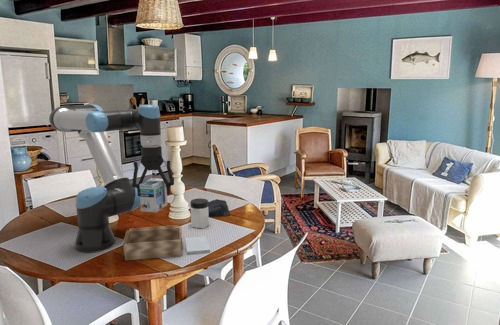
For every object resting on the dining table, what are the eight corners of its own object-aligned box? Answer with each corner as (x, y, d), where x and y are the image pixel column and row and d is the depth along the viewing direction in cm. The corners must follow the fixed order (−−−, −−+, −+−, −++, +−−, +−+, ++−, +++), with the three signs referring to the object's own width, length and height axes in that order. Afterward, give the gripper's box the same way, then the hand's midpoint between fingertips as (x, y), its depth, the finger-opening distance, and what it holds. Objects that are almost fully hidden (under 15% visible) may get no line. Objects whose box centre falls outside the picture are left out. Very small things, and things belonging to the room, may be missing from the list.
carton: (123, 261, 145) (122, 244, 144) (127, 244, 161) (126, 228, 159) (182, 255, 150) (182, 239, 148) (181, 240, 165) (180, 225, 164)
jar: (202, 220, 188) (201, 197, 186) (212, 225, 182) (212, 200, 180) (186, 225, 182) (186, 200, 180) (197, 230, 176) (196, 204, 174)
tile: (186, 254, 151) (186, 251, 151) (185, 240, 164) (185, 237, 164) (209, 252, 153) (209, 249, 152) (206, 238, 166) (206, 236, 166)
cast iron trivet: (230, 204, 215) (229, 196, 214) (229, 217, 194) (229, 208, 193) (202, 204, 215) (202, 196, 214) (199, 218, 193) (198, 209, 192)
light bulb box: (156, 212, 146) (155, 185, 144) (140, 211, 147) (138, 184, 145) (168, 204, 156) (167, 178, 154) (152, 203, 157) (151, 177, 155)
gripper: (120, 148, 141) (125, 208, 146) (179, 146, 145) (182, 204, 150) (123, 145, 149) (127, 202, 153) (179, 143, 152) (181, 199, 157)
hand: (154, 203), depth 151 cm, fingers closed on light bulb box, 8 cm apart
